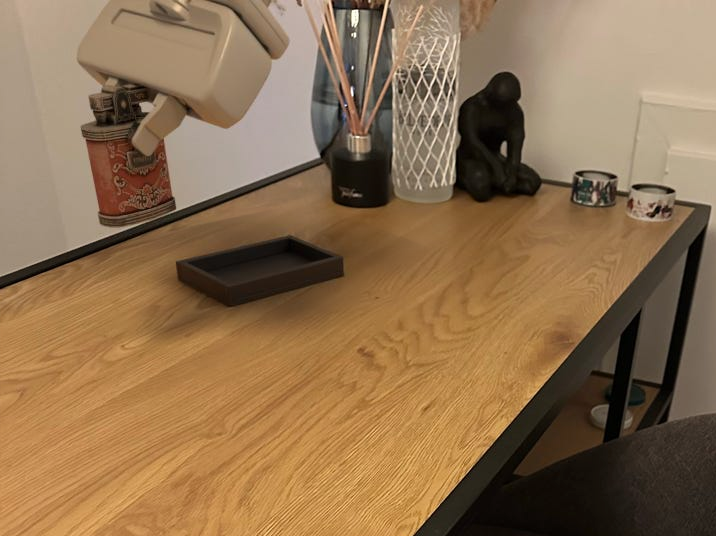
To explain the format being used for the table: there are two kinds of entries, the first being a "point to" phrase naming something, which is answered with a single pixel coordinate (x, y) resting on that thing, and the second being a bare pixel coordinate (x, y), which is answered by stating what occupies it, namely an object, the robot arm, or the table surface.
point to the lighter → (125, 160)
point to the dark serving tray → (259, 269)
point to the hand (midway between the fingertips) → (119, 143)
